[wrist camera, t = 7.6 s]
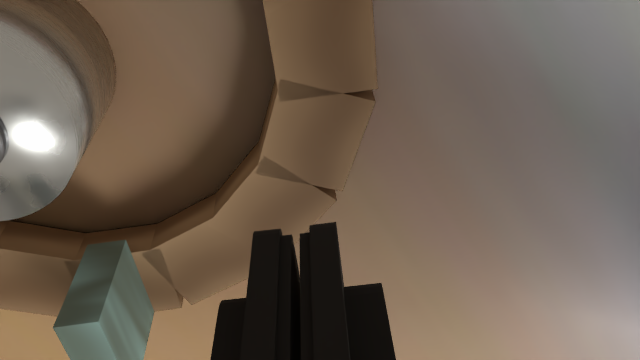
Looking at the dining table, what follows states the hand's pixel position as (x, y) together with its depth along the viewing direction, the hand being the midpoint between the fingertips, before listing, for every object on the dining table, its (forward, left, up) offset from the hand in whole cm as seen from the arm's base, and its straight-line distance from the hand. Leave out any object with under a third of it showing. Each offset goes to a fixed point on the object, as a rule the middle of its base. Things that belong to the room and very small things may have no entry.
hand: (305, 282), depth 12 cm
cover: (+11, 0, -15) cm, 18 cm away
